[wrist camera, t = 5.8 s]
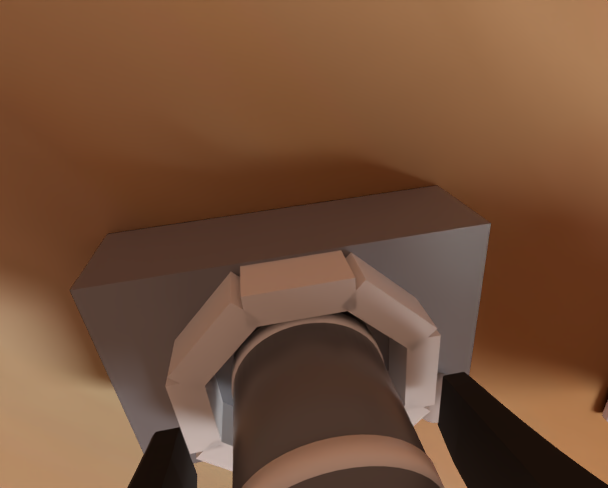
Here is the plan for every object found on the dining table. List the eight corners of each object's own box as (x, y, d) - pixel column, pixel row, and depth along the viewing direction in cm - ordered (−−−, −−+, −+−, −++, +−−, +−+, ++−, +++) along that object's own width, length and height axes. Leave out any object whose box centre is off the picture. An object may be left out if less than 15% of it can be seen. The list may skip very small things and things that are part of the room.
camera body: (437, 185, 15) (523, 246, 10) (426, 347, 18) (485, 442, 14) (107, 234, 14) (45, 325, 9) (166, 395, 17) (143, 515, 13)
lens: (377, 287, 12) (489, 477, 7) (362, 393, 14) (438, 603, 9) (228, 294, 11) (222, 513, 6) (234, 405, 13) (233, 641, 8)
